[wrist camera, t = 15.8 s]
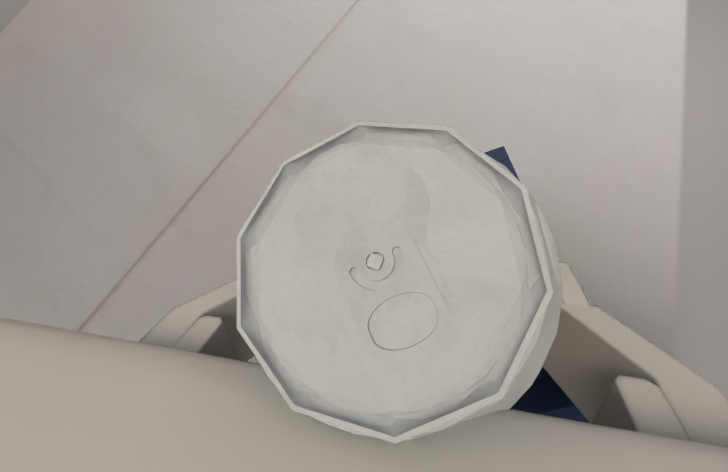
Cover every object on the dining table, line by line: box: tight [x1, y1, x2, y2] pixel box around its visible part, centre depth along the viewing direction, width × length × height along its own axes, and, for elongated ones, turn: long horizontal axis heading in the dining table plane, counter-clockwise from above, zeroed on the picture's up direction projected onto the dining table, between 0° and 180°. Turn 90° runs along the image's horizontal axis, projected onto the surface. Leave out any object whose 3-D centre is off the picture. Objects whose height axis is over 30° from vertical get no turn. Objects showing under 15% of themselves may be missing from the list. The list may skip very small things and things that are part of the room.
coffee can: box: [237, 121, 563, 444], centre depth 10 cm, size 5×5×12 cm
